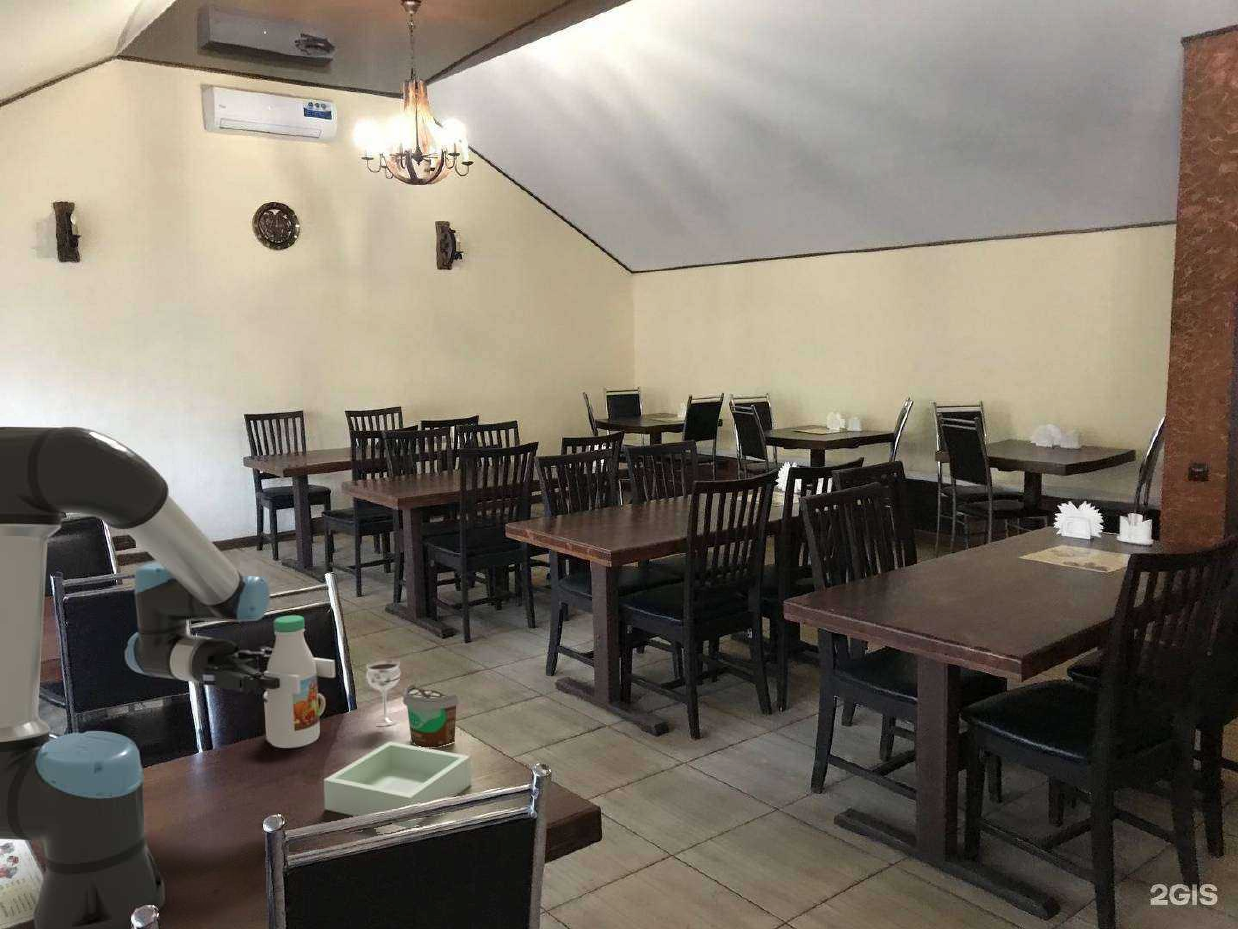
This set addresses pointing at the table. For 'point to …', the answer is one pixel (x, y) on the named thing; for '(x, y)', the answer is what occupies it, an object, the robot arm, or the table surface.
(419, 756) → the pale green tray
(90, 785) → the robot arm
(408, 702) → the food container
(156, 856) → the table surface
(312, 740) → the milk bottle
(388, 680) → the wineglass
